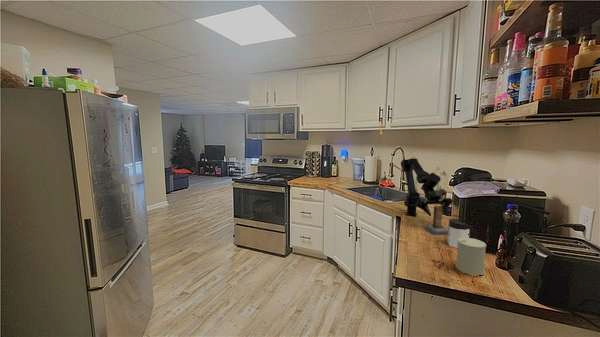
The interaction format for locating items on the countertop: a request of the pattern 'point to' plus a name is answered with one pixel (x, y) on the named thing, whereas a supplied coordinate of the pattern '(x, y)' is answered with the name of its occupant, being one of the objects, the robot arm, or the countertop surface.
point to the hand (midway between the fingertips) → (439, 215)
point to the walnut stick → (437, 217)
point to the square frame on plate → (436, 230)
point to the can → (470, 256)
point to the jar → (456, 232)
